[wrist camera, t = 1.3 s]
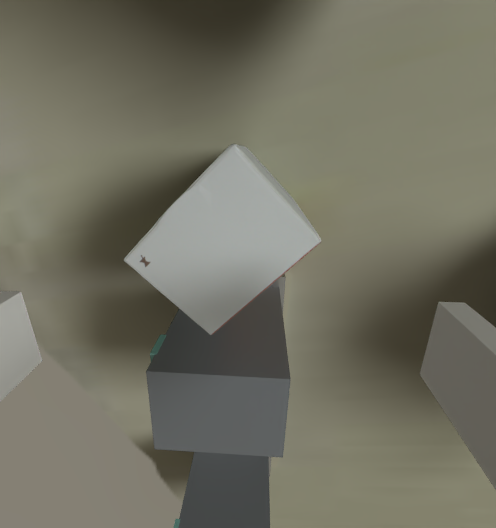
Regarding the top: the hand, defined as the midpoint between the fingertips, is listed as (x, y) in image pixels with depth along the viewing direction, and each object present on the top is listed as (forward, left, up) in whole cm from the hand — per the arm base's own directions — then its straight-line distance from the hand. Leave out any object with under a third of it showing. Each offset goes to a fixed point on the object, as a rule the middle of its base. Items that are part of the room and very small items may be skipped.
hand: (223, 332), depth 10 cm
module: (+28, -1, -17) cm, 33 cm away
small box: (-1, -1, -19) cm, 19 cm away
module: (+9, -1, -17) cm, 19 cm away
